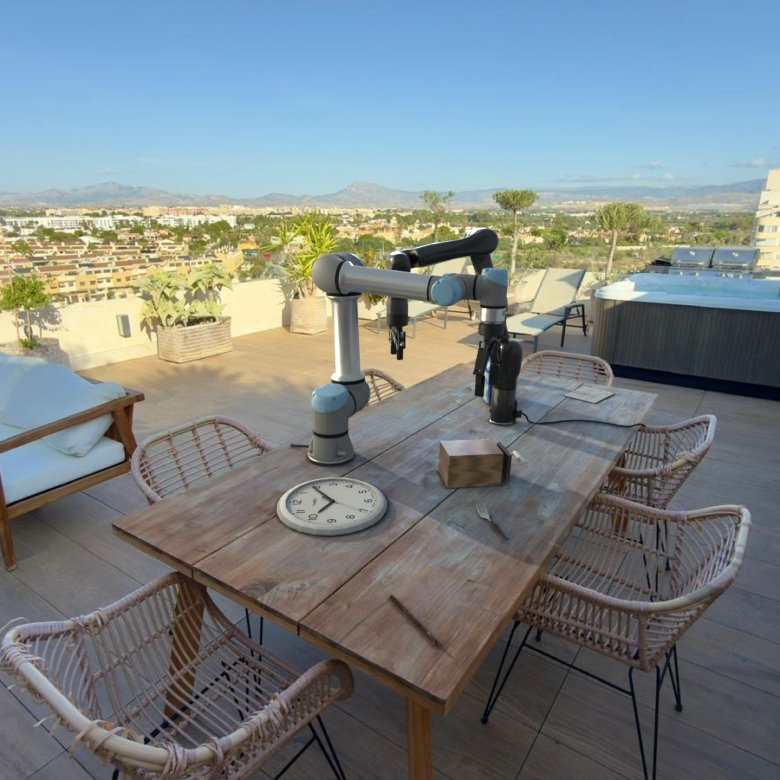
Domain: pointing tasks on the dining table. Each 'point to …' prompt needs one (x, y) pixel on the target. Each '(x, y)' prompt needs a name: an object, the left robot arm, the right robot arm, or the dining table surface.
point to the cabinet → (470, 463)
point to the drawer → (509, 461)
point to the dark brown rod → (413, 619)
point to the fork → (487, 516)
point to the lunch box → (487, 384)
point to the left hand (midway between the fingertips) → (486, 390)
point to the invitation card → (589, 394)
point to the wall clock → (331, 506)
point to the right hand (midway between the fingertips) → (396, 357)
